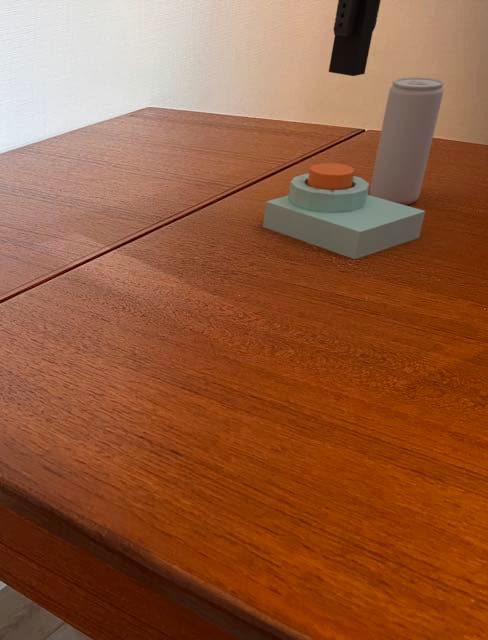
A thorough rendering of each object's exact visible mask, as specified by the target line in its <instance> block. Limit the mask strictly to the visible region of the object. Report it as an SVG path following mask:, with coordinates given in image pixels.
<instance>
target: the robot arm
mask: <svg viewBox="0 0 488 640" xmlns="http://www.w3.org/2000/svg"><path fill="white" fill-rule="evenodd" d="M380 6H381V0H338V1H337V7H336V12H335V19H334V25H333V35H334V38H333V44H332V49H331V54H330V61H329V67H328V73H332V74H339V75H344V76H349V77H357V76H362V75H365V73H366V69H367V63H368V58H369V54H370V48H371V43H372V38H373V34H374V33H373V32H374V31H375V28H376V26H377V21H378V17H379V16H378V15H379V11H380Z"/></svg>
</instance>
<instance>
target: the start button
mask: <svg viewBox="0 0 488 640" xmlns="http://www.w3.org/2000/svg"><path fill="white" fill-rule="evenodd" d="M308 173H309V176H308V183H307V186H310V187H313V188H316V189H324V190H346V189H349V188H351V187H352V182H353V176H355V167H352V166H350V165H348V164H343V163H334V162H323V163H316V164H313V165H311V166H310V167H309V171H308Z"/></svg>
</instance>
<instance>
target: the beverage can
mask: <svg viewBox="0 0 488 640" xmlns="http://www.w3.org/2000/svg"><path fill="white" fill-rule="evenodd" d="M444 84H445V82H444V81H443V80H441V79H437V78H432V77H419V76H417V77H414V76H412V77H411V76H410V77H401V78H400V77H399V78H396V79H393V80H392V85H391V86H390V88H389V91H388V96H387V100H386V106H385V109H384V116H383V121H382V125H381V130H380V135H379V141H378V146H377V151H376V155H375V156H376V157H375V161H374V165H373V170H372V171H373V172H372V177H371V182H370V185H369V191H368V194H369V195H370V196H374V197H377V198H381V199H384V200H388V201H392V202H395V203H399V204H402V205H406V206H408V205H411V204H413V203H415V202H417V201H418V199H419V197H420V194H421V191H422V190H421V189H422V185H423V181H424V178H425V173H426V169H427V164H428V160H429V156H430V151H431V147H432V143H433V140H434V139H433V138H434V134H435V128H436V125H437V121H438V118H439V113H440V108H441V105H442V104H441V103H442V99H443V96H444V91H445V90H444V88H443V87H444Z"/></svg>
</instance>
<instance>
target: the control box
mask: <svg viewBox="0 0 488 640" xmlns="http://www.w3.org/2000/svg"><path fill="white" fill-rule="evenodd" d="M308 176H309V172H307V173H304V174H300V175H297V176H294V177H293V178H292V179H291V181H290V184H289V189H288V190H289V192H288V194H287V195H284V196H281V197H277V198H274V199H270V200H267V201H265V208H264V215H263V224H262V227H263V228H265V229H268V230H270V231H274V232H276V233H279V234H282V235H285V236H288V237H291V238H293V239H296V240H298V241H301V242H304V243H307V244H311V245H313V246H316V247H319V248H321V249H324V250H327V251H330V252H332V253H335V254H339V255H342V256H344V257H347V258H350V259H353V260H357V259H360V258H363V257H366V256H369V255H372V254H375V253H378V252H382V251H384V250H386V249H390V248H393V247H396V246H399V245H402V244H405V243H408V242H410V241H414V240H417V239H419V238H420V235H421V231H422V227H423V224H424V223H423V222H424V218H425V214H426V211H425V210H423V209H420V208H416V207H413V206H408V205H402V204H399V203H395V202H392V201H388V200H384V199H381V198H377V197H374V196H370V194H369V190H370V183H369V182H368V181H366V180H365V179H364V178H363V177H359V176H355V175H354V176H353V182H352V187H351V188H349V189H346V190H324V189H316V188H313V187H310V186H307V183H308Z"/></svg>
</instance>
